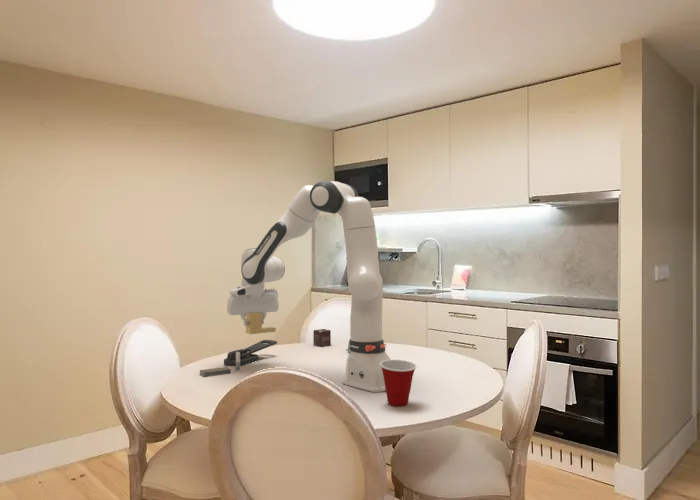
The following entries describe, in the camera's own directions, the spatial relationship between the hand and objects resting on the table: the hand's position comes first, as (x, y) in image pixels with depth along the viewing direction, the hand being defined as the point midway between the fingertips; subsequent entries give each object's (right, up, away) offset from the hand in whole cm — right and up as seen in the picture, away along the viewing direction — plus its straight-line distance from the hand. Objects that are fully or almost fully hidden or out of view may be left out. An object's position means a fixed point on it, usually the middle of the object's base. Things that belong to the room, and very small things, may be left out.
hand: (253, 324), depth 207 cm
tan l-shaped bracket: (+3, -3, +2) cm, 4 cm away
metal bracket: (+43, -16, +26) cm, 53 cm away
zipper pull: (-3, -16, +10) cm, 19 cm away
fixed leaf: (-10, -16, -12) cm, 22 cm away
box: (+25, -16, +42) cm, 51 cm away
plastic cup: (+52, -16, -51) cm, 75 cm away
